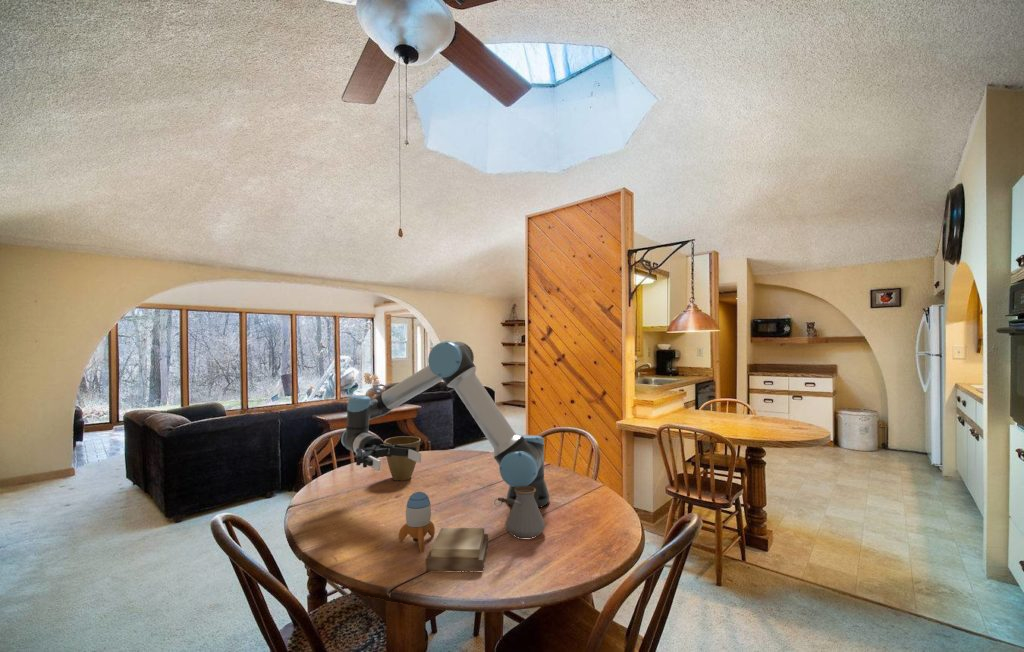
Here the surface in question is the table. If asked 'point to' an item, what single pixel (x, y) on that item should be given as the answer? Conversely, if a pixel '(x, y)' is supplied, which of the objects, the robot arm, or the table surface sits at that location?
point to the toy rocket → (417, 519)
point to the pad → (458, 561)
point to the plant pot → (402, 458)
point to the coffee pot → (524, 514)
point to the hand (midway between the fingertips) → (400, 461)
